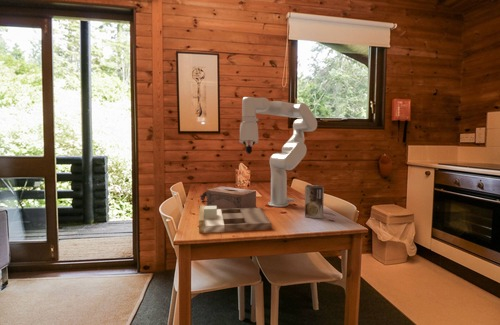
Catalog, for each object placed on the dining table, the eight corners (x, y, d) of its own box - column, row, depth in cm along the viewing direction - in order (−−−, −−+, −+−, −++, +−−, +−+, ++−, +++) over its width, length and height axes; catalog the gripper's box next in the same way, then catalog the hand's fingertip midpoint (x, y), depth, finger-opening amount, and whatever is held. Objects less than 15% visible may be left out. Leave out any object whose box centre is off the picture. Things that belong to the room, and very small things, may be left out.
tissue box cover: (255, 207, 165) (256, 190, 164) (241, 212, 153) (241, 195, 152) (222, 201, 179) (222, 186, 179) (206, 206, 168) (206, 189, 167)
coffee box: (323, 215, 148) (324, 185, 146) (322, 218, 142) (323, 187, 140) (306, 213, 151) (306, 184, 149) (304, 217, 145) (305, 186, 143)
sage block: (216, 214, 138) (216, 205, 138) (216, 218, 132) (216, 208, 132) (204, 214, 138) (204, 205, 137) (203, 218, 132) (203, 209, 131)
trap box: (259, 212, 152) (259, 203, 152) (271, 229, 126) (271, 217, 125) (200, 215, 147) (199, 205, 147) (199, 232, 121) (198, 220, 120)
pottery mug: (213, 204, 173) (206, 193, 172) (202, 209, 177) (195, 198, 176) (222, 196, 183) (215, 185, 182) (211, 200, 188) (205, 190, 187)
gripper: (261, 120, 158) (260, 153, 160) (234, 120, 156) (234, 153, 157) (263, 120, 151) (263, 153, 152) (236, 119, 148) (236, 154, 150)
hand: (248, 153), depth 155 cm, fingers closed
